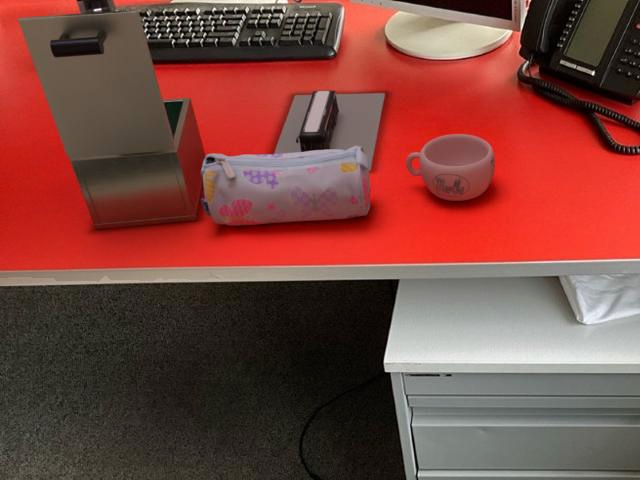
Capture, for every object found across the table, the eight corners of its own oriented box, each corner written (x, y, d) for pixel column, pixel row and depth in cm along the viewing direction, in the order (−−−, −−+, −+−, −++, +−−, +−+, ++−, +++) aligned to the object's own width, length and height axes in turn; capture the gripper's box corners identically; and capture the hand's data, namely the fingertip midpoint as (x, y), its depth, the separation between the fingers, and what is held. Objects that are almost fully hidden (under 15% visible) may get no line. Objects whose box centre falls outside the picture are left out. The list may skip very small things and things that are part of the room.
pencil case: (207, 237, 113) (188, 169, 106) (221, 201, 119) (204, 135, 113) (373, 231, 113) (364, 164, 107) (377, 196, 120) (369, 130, 113)
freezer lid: (19, 17, 98) (6, 33, 94) (138, 9, 99) (130, 24, 95) (69, 156, 108) (59, 175, 104) (175, 147, 109) (170, 166, 105)
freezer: (116, 170, 126) (94, 104, 120) (207, 162, 127) (190, 97, 121) (95, 229, 115) (69, 160, 108) (196, 220, 116) (176, 151, 109)
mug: (501, 174, 123) (500, 134, 119) (488, 212, 116) (487, 171, 112) (416, 168, 125) (413, 129, 121) (399, 205, 118) (394, 165, 114)
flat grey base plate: (267, 172, 125) (261, 145, 122) (295, 95, 143) (290, 69, 141) (370, 170, 125) (366, 142, 122) (385, 93, 143) (382, 67, 141)
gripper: (115, -56, 96) (157, 93, 107) (102, -90, 106) (143, 50, 117) (40, -46, 94) (92, 105, 105) (35, -81, 104) (82, 60, 115)
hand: (118, 75), depth 111 cm, fingers closed on beverage can, 6 cm apart
